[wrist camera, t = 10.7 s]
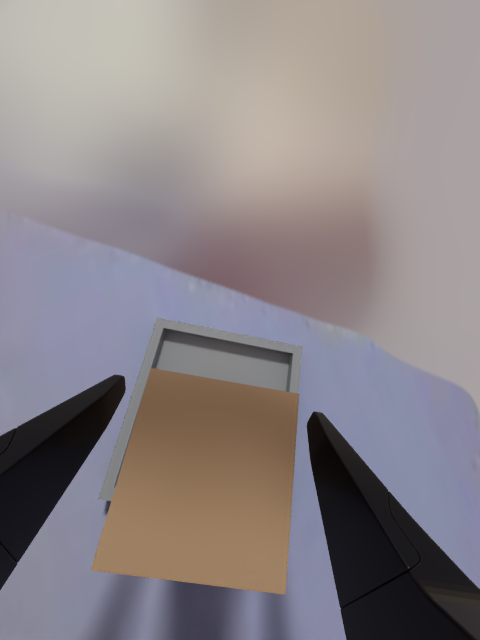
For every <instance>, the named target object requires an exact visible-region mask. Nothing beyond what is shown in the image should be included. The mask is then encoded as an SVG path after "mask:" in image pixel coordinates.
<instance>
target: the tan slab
mask: <svg viewBox="0 0 480 640" xmlns="http://www.w3.org/2000/svg"><path fill="white" fill-rule="evenodd" d="M298 402H299V394H297V393H292V392H286V391H280V390H275V389H269V388H263V387H257V386H252V385H246V384H240V383H234V382H229V381H223V380H217V379H212V378H206V377H200V376H194V375H189V374H183V373H177V372H171V371H166V370H160V369H154V368H151V369H150V372H149V376H148V379H147V383H146V386H145V389H144V393H143V396H142V399H141V403H140V406H139V410H138V413H137V416H136V420H135V423H134V426H133V430H132V433H131V437H130V440H129V443H128V447H127V450H126V453H125V457H124V460H123V463H122V467H121V470H120V474H119V477H118V480H117V484H116V487H115V490H114V494H113V497H112V501H111V504H110V507H109V511H108V514H107V517H106V521H105V524H104V528H103V531H102V534H101V538H100V541H99V544H98V548H97V551H96V554H95V558H94V561H93V565H92V568H91V570H92V571H100V572H108V573H116V574H124V575H132V576H140V577H148V578H156V579H164V580H172V581H180V582H188V583H196V584H204V585H212V586H220V587H228V588H236V589H244V590H252V591H260V592H268V593H276V594H284V595H285V594H286V579H287V564H288V550H289V535H290V520H291V506H292V491H293V476H294V461H295V447H296V432H297V417H298Z"/></svg>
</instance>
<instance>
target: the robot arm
mask: <svg viewBox="0 0 480 640" xmlns="http://www.w3.org/2000/svg"><path fill="white" fill-rule="evenodd" d="M125 390H126V387H125V377H124V376H121V375H113V376H111V377H109V378H107V379H105V380H104V381H102V382H100V383H98V384H96V385H94V386H92V387H91V388H89V389H87V390H85V391H83V392H81V393H80V394H78V395H76V396H74V397H72V398H70V399H68V400H67V401H65V402H63V403H61V404H59V405H57V406H55V407H54V408H52V409H50V410H48V411H46V412H44V413H42V414H41V415H39V416H37V417H35V418H33V419H31V420H29V421H28V422H26V423H24V424H22V425H20V426H18V427H17V428H14V429H13V430H11V431H9V432H7V433H5V434H3V435H1V436H0V590H1V588H2V587H3V585H4V584H5V582H6V581H7V579H8V577H9V576H10V574H11V573H12V571H13V570H14V568H15V567H16V565H17V562H19V560H20V559H21V557H22V556H23V554H24V553H25V551H26V550H27V548H28V547H29V545H30V544H31V542H32V541H33V539H34V538H35V536H36V534H37V533H38V531H39V530H40V528H41V527H42V525H43V524H44V522H45V521H46V519H47V518H48V516H49V515H50V513H51V512H52V510H53V509H54V507H55V506H56V504H57V502H58V501H59V499H60V498H61V496H62V495H63V493H64V492H65V490H66V489H67V487H68V486H69V484H70V483H71V481H72V480H73V478H74V477H75V475H76V473H77V472H78V470H79V469H80V467H81V466H82V464H83V463H84V461H85V460H86V458H87V457H88V455H89V454H90V452H91V451H92V449H93V448H94V446H95V445H96V443H97V441H98V440H99V438H100V437H101V435H102V434H103V432H104V431H105V429H106V428H107V426H108V424H109V422H110V420H111V419H112V417H113V415H114V413H115V411H116V409H117V407H118V405H119V403H120V401H121V399H122V397H123V396H124V393H125ZM307 432H308V442H309V452H310V460H311V466H312V471H313V476H314V481H315V486H316V491H317V496H318V501H319V506H320V511H321V516H322V520H323V525H324V530H325V535H326V540H327V545H328V550H329V555H330V560H331V565H332V570H333V575H334V580H335V584H336V589H337V594H338V599H339V604H340V608H341V615H342V620H343V625H344V630H345V634H346V639H347V640H480V589H479V588H478V587H477V586H476V585H475V584H474V583H473V582H472V581H471V580H470V579H469V578H468V577H467V576H466V575H465V574H464V573H463V572H462V570H461V569H460V568H459V567H458V566H457V565H456V564H455V563H454V562H453V561H452V560H451V559H450V558H449V557H448V556H447V555H446V554H445V552H444V551H443V550H442V549H441V548H440V547H439V546H438V545H437V544H436V543H435V542H434V541H433V540H432V539H431V538H430V537H429V535H428V534H427V533H426V532H425V531H424V530H423V529H422V528H421V527H420V526H419V525H418V524H417V522H416V521H415V520H414V519H413V518H412V517H411V516H410V515H409V514H408V512H407V511H406V510H405V509H404V508H403V507H402V506H401V504H400V503H399V502H398V501H397V500H396V499H395V497H394V496H393V495H392V494H391V493H390V492H388V489H387V488H386V487H385V486H384V485H383V483H382V482H381V481H380V480H379V479H378V478H377V476H376V475H375V474H374V473H373V472H372V470H371V469H370V468H369V467H368V466H367V465H366V463H365V462H364V461H363V460H362V459H361V458H360V456H359V455H358V454H357V453H356V452H355V450H354V449H353V448H352V447H351V446H350V445H349V443H348V442H347V441H346V440H345V439H344V438H343V436H342V435H341V434H340V433H339V432H338V430H337V429H336V428H335V427H334V426H333V425H332V423H331V422H330V421H329V420H328V419H327V418H326V416H325V415H324V414H323V413H320V412H313V413H312V415H311V417H310V419H309V421H308V423H307Z"/></svg>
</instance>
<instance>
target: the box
mask: <svg viewBox="0 0 480 640" xmlns="http://www.w3.org/2000/svg"><path fill="white" fill-rule="evenodd" d="M301 355H302V346H297V345H292V344H287V343H282V342H277V341H272V340H267V339H262V338H257V337H252V336H247V335H242V334H237V333H232V332H227V331H222V330H217V329H212V328H206V327H201V326H196V325H191V324H186V323H181V322H176V321H171V320H166V319H161V318H157V320H156V323H155V326H154V329H153V332H152V335H151V338H150V341H149V345H148V348H147V351H146V354H145V357H144V360H143V363H142V366H141V369H140V372H139V375H138V378H137V381H136V384H135V387H134V391H133V394H132V397H131V400H130V403H129V406H128V409H127V412H126V415H125V418H124V421H123V424H122V427H121V430H120V434H119V437H118V440H117V443H116V446H115V449H114V452H113V455H112V458H111V461H110V464H109V467H108V470H107V473H106V476H105V480H104V483H103V486H102V489H101V492H100V495H99V498H98V499H100V500H107V501H112V497H113V494H114V490H115V487H116V484H117V480H118V477H119V474H120V470H121V467H122V463H123V460H124V457H125V453H126V450H127V447H128V443H129V440H130V437H131V433H132V430H133V426H134V423H135V420H136V416H137V413H138V410H139V406H140V403H141V399H142V396H143V393H144V389H145V386H146V383H147V379H148V376H149V372H150V369H151V368H154V369H160V370H166V371H171V372H177V373H183V374H189V375H194V376H200V377H206V378H212V379H217V380H223V381H229V382H234V383H240V384H246V385H252V386H257V387H263V388H269V389H275V390H280V391H286V392H292V393H297V394H298V392H299V379H300V367H301Z"/></svg>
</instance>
